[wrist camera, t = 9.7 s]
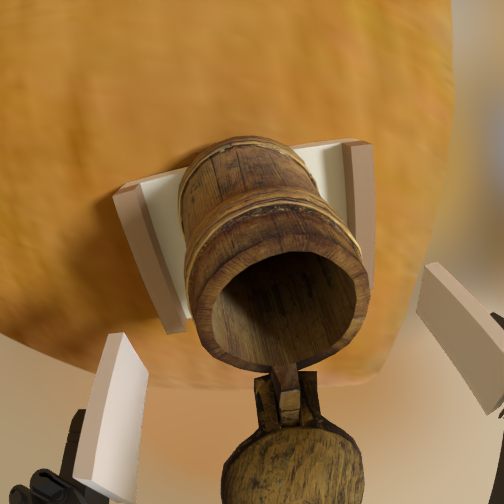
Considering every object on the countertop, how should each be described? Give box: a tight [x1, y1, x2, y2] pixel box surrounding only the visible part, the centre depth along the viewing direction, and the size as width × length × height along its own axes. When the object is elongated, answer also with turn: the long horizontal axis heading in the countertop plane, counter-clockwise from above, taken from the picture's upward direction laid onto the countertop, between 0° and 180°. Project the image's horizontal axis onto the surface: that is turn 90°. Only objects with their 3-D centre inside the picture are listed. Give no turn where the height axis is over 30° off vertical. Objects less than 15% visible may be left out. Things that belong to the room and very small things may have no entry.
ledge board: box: [112, 138, 375, 335], centre depth 20 cm, size 11×16×3 cm
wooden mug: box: [178, 136, 370, 504], centre depth 12 cm, size 9×14×18 cm, turn 2°
